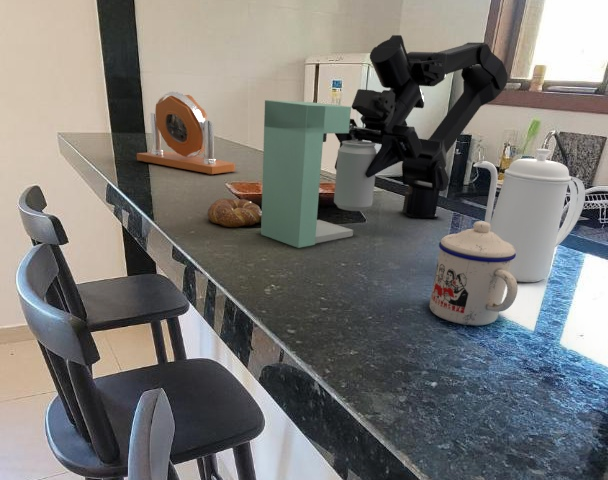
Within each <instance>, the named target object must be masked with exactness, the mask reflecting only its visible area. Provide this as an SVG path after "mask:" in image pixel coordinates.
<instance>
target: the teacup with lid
mask: <svg viewBox="0 0 608 480" xmlns="http://www.w3.org/2000/svg"><path fill="white" fill-rule="evenodd" d="M490 228H491V225H490V224H489V223H487V222H484V221H482V220H481V221H479V220H478V221H475V222H474V223H473V224H472V228H468V229H464V230H462V231H459V232H458V233H451V234H447V235H445V236H443V237H442V238H441V240H440V241H439V242H438V248H439V253H438V259H437V264H436V269H435V274H434V275H435V276H434V279H433V284H432V290H431V295H430V300H429V309H430V311H431V312H432V313H433V314H434V315H435V316H437V317H438V318H440V319H442V320H444V321H447V322H451V323H454V324H458V325H465V326H486V325H489V324H492V323H494V322H495V321H497V319H498V318H499V314H500V313H501V312H505V311H506V310H508V309H509V308H510V307H511V306H512V305H513V304H514V302H515V301H516V298H517V295H518V291H519V287H518V282H517V281H516V279H515V278H514V276H513V275H512V274H511V273H509V271H510V267H511V264H512V260H513V259H514V258H515V256H516V253H515V248H514V247H513V246H512V245H511V244H510V243H508V242H506V241H503V240H502V239H501V238H500V237H499V236H498V235H496V234H495V233H493V232H491V231H490ZM506 288H507V289H506ZM505 290H506V294H505ZM504 294H505V297H504ZM503 298H504V299H503Z"/></svg>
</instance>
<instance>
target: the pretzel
mask: <svg viewBox="0 0 608 480" xmlns="http://www.w3.org/2000/svg"><path fill="white" fill-rule="evenodd" d="M207 217H208V219H209V221H210V222H212V223H214V224H218V225H221V226H222V227H228V228H238V227H239V228H240V227H243V226H247V227H248V226H249V227H250V226H254V225H255V224H259V223H261V217H262V208H260V206H259V205H258V204H256V203H253V202H252V201H250V200H247V199H243V198H241V199H237V200H235V199H234V198H225V197H224V198H220V199H217V200H216V201H214V202H213V203H212V204H211V205H209V206H208V209H207Z"/></svg>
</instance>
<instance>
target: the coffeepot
mask: <svg viewBox="0 0 608 480" xmlns="http://www.w3.org/2000/svg"><path fill="white" fill-rule="evenodd" d="M534 153H535V154H536V155H537V156H536V158H518V159H515V160H514V161H511V163H510V165H509V166H508V168H506V169H504V173H503V176H504V178H503V181H502V184H501V188H500V191H499V194H498V197H497V201H496V203H495V198H496V193H497V186H498V180H499V179H498V178H499V175H498V174H499V173H498V170H497V168H496V166H495V165H494V164H493V163H492V162H489V161H486V160H480V161H478V162H475V163H474V164H473V166H472V167H475V168H482V169H487V170H488V171H489V172H490V185H489V191H488V197H487V204H486V209H485V214H484V215H485V216H484V221H483V222H487V223H489V224H490V225H491V228H490V231H491V232H493V233H495V234H496V235H498V236H499V237H500V238H501V239H502V240H503V241H506V242H508V243H510V244H511V245H512V246H513V247H514V248H515V253H516V256H515V258H514V259H513V260H512V264H511V267H510V271H509V273H511V274H512V275H513V276H514V278H515V279H516V282H517V283H535V282H540V281H543V280H544V279H545V280H546V279H547V277H548V276H549V275H550V273H551V267H552V263H553V258H554V255H555V254H554V253H555V248H557V247H558V246H559V245H560V244H561V243H562V242H563V241H564V240H565V239H566V238H567V237H568V236H569V234H570V233H571V232H572V230H573V229H574V228H575V226H576V225H577V222H578V221H579V218H580V216H581V214H582V211H583V208H584V206H585V200H586V188H585V185H584V182H583V181H582V180H581V179H580V178H578V177H575V176H570V170H569V168H568V167H567V166H566V165H565V164H563V163H561V162H559V161H553V160H548V159H547V158H548V156H550V155H552V154H551V153H552V150H551V149H548V148H536V149H535V152H534ZM568 187H569V191H570V193H569V194H570V195H569V196H570V197H569V199H570V200H569V205H568V209H567V214H566V216H565V218H564V221H563V223H562V225H561V221H562V216H563V211H564V206H565V202H566V201H565V200H566V196H567V191H568ZM494 204H496V205H495V207H494ZM493 209H494V210H493ZM560 225H561V226H560Z"/></svg>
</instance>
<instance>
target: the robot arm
mask: <svg viewBox="0 0 608 480" xmlns="http://www.w3.org/2000/svg"><path fill="white" fill-rule="evenodd" d="M369 60H370V62H371V64H372V67H373V69H374V71H375V75H376V76H377V78H378V80H379V84H380V85H381V86H382V88H384V89H383V90H382V91H376V90H373V89H363V88H362V89H361V88H360V89H359V88H358V89H357V90H356V94H355V96H354V98H353V101H352V104H351V110H355V111H356V112H357V113H358V114H360V115H361V117H360V121H361V123H362V124H363V125H364V127H361V126H358V124H357V123H356V120H355V119H354V118H350V124H349V133H334V135H335V137H336V138H337V141H338V142H339V148H340V147H341V146H342V145H343V143H342V141H351V140H352V141H365V142H372V143H375V144H376V145H380V148H379V149H378V150H377V152H378V153H377V154H376V156H375V158H374V159H373V161H372V162H371V164H370V165H369V167H368V169H367V171H366V173H365V175H366V176H367V177H368V178H369V177H371V176H373V175H375V174H376V175H377V174H379V173H380V172H382V171H385V170H387V169H388V168H390V167H392V166H395V165H397V164H399V163H401V174H402V176H401V177H402V185H404V186H408V188H407V191H406V192H405V193H404V200H403V206H402V209H401V212H402V213H404V214H405V215H406V216H408V217H409V218H411V219H412V218H413V219H414V218H415V219H416V218H417V219H439V215H437V208H438V202H439V198H440V192H444V191H445V190H447V188H448V186H449V182H450V179H449V176H448V173H447V171H446V167H447V154H448V153H449V151H450V150H451V148H452V147H453V146H454V144H455V143H456V142H457V140H458V138H459V137H460V136H461V134H462V133H463V132H464V130H465V129H466V128H467V126H468V125H469V123H470V122H471V121H472V119H473V118H474V117H475V115H476V114H477V112H478V111H479V110H480V108H481V107H482V106H485V105H488V103H491V102H493V101H495V100H496V99H497V97H499V95H500V94H502V92H503V91H504V89H505V88H506V86H507V83H508V79H509V76H508V75H509V74H508V72H507V69H506V67H505V64H504V61H502V60H501V59H500V58H499V57H498V56H497V55H495V54H494V53H493V52H492V50H491V48H490V45H489V44H488V43H486V42H471V41H470V42H467V43H464V44H462V45H459V46H455V47H452V48H448V49H445V50H441V51H409V52H407V50H406V47H405V42H404V38H403V36H402V35H401V34H392V35H391V36H390V38H389V39H387V40H383V41H382V42H381V43H379V44H378V45H377V46H374V47H373V48H372V50H371V51H370V53H369ZM458 71H461V72H460V76H461V79H462V80H463V82H462V84H463V85H462V88H463V89H462V93H461V95H460V96H459V98H458V99H457V100H456V102H455V103H454V104H453V105H452V107H451V108H450V110H449V111H448V112H447V114H446V115H445V116H444V118H443V119H442V120H441V122H440V123H439V125H438V126H437V127H436V129H435V130H434V131H433V133H432V134H431V135H430V137H429V138H427V139H426V138H419V135H418V133H417V131H416V129H415V127H414V126H411V125H410V126H409V125H408V122H407V119H408V117H409V115H410V114H411V112H412V111H413V110H414V109H423V108H425V100H424V92H422V90H421V87H436V86H437V85H438V84H440V83H441V82H443V81H444V80H445V79H446V76H447V75H449V74H451V73H454V72H458ZM387 89H388V90H387ZM336 168H337V159H336V160H335V163H334V170H336ZM376 175H375V176H376Z"/></svg>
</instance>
